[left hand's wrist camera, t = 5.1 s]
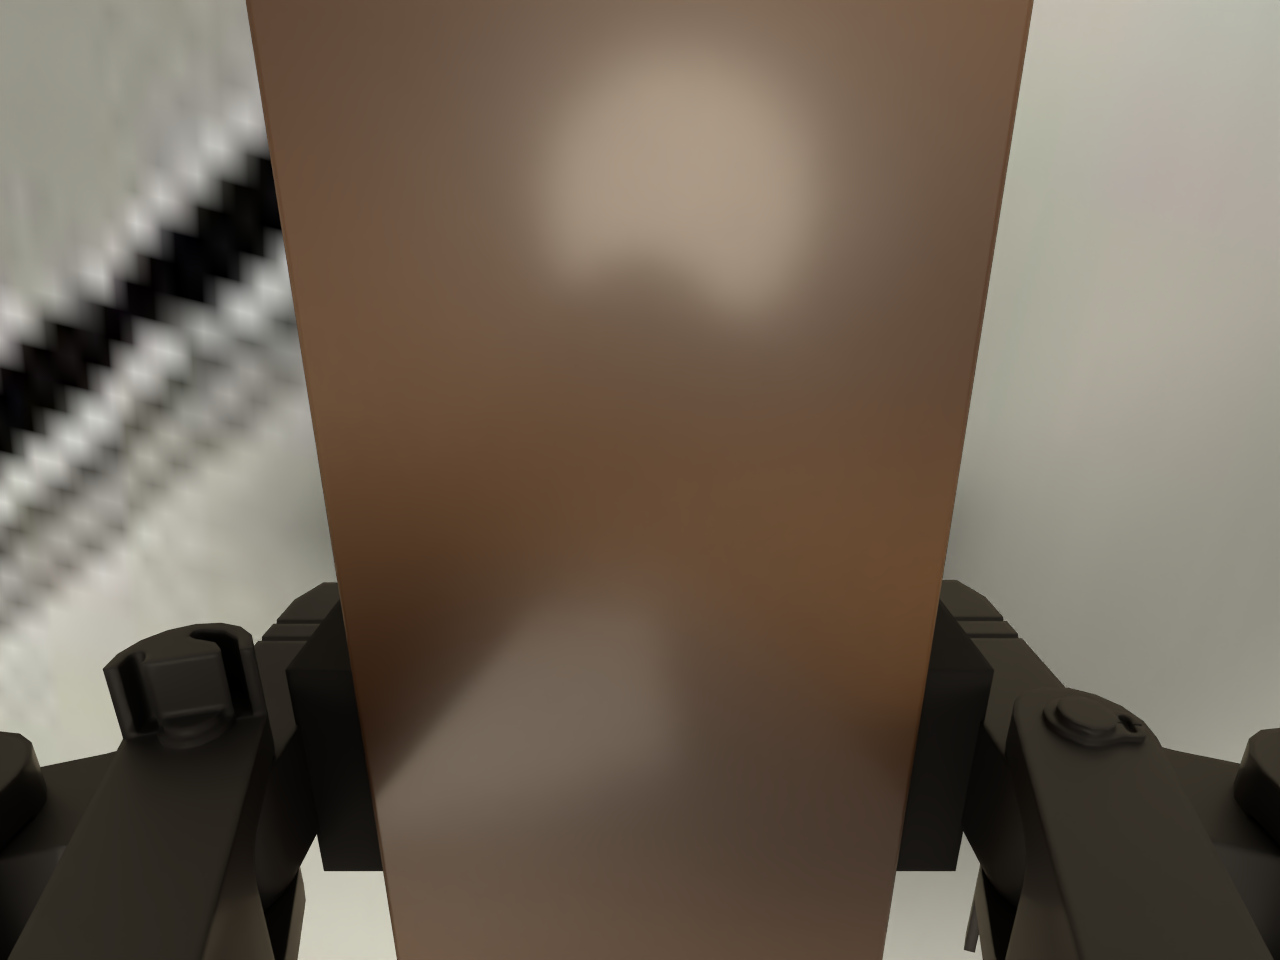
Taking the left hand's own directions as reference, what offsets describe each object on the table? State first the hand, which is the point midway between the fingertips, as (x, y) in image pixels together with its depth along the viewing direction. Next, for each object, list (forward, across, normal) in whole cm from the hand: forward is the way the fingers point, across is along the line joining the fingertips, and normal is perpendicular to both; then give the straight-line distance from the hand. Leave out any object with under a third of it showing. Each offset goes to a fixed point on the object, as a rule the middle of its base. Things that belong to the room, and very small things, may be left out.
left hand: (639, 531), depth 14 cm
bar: (+1, 0, -26) cm, 26 cm away
